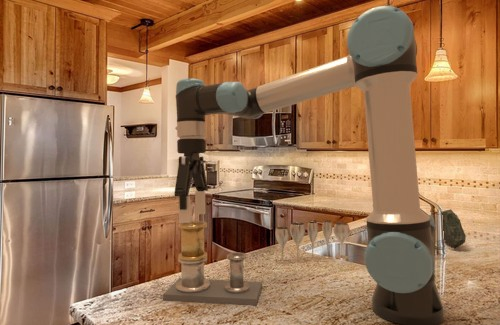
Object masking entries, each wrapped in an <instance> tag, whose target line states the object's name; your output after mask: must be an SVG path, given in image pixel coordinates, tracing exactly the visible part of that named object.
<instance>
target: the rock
mask: <svg viewBox="0 0 500 325" xmlns="http://www.w3.org/2000/svg"><path fill="white" fill-rule="evenodd" d="M441 213H442V215H443V231H444V239H443V241H444V242H445V243H446V244H447V245H448V246H449V247H451V248H458V247H460V246H462V245H463V244H465V243H466V238H467V237H466V236H467V235H466V233H465V231H464V228H463V227H462V223H461V219H460V218H459V216H458V215H457V214H456V213H455V212H454V211H453V210H452V209H448V210H446V209H445V210H443V211H442V212H441Z"/></svg>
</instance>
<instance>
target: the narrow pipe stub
mask: <svg viewBox="0 0 500 325" xmlns="http://www.w3.org/2000/svg"><path fill="white" fill-rule="evenodd" d="M226 259H227V260H228V261H229V280H230V283H227V284H226V285H225V291H226V292H228V293H233V294H239V293H244V292H247V291H248V290H249V285H248V284H247V283H245V282H244V281H245V280H244V277H245V274H244V273H245V272H244V268H245V266H244V260H246V259H247V254H246V253H245V252H239V251H238V252H230V253H227V255H226Z"/></svg>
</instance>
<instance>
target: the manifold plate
mask: <svg viewBox="0 0 500 325" xmlns="http://www.w3.org/2000/svg"><path fill="white" fill-rule="evenodd" d="M205 279H206V278H205ZM181 280H182V277H180V278H178V279H177V280H176V281H175V282H174V283H173V284H172V285H170V286H169V288H168V289H166V290H165V292H163V293H162V300H163V301H170V302H171V301H175V302H193V303H206V304H207V303H208V304H211V303H212V304H226V305H227V304H228V305H242V306H243V305H245V306H257V305H258V301H259V298H260V296H261V292H262V290H263V281H253V280H251V281H245V280H244V282H245V283H247V284H248V285H249V290H248V291H247V292H244V293H239V294H233V293H228V292H226V291H225V285H226V284H227V283H230V279H227V280H225V279H206V280H208V281H209V282H210V287H209V288H208V289H207V290H205V291H202V292H198V293H182V292H179V291H177V290H176V284H177V283H178V282H179V281H181Z"/></svg>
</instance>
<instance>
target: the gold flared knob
mask: <svg viewBox="0 0 500 325" xmlns="http://www.w3.org/2000/svg"><path fill="white" fill-rule="evenodd" d="M207 227H208V222H207V221H199V220H196V221H195V220H190V223H179V222H178V224H177V228H178V229H180V235H181V236H180V240H181V241H180V242H181V247H180V248H181V250H180V251H181V252H179V253H178V255H177V256H178V257H177V258H178V259H180V260H182V261H199V260H203V259H205V258H207V259H208V253H207V252H206V251H205V228H207Z"/></svg>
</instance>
